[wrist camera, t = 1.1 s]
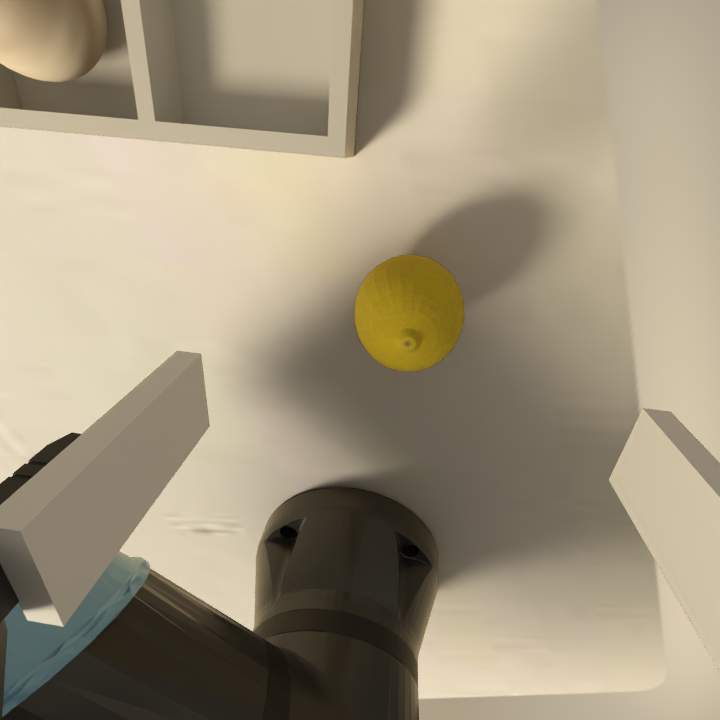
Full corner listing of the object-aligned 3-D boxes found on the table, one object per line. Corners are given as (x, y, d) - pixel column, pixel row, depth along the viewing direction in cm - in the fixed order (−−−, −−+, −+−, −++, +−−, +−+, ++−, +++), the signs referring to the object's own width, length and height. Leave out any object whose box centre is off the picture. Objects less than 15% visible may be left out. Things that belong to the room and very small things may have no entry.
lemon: (454, 235, 23) (473, 274, 16) (457, 327, 26) (474, 396, 18) (357, 246, 24) (334, 288, 17) (369, 334, 26) (353, 403, 19)
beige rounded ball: (142, 93, 21) (59, 76, 16) (38, 84, 21) (-76, 65, 16) (121, -57, 18) (13, -132, 13) (2, -64, 19) (-146, -140, 14)
